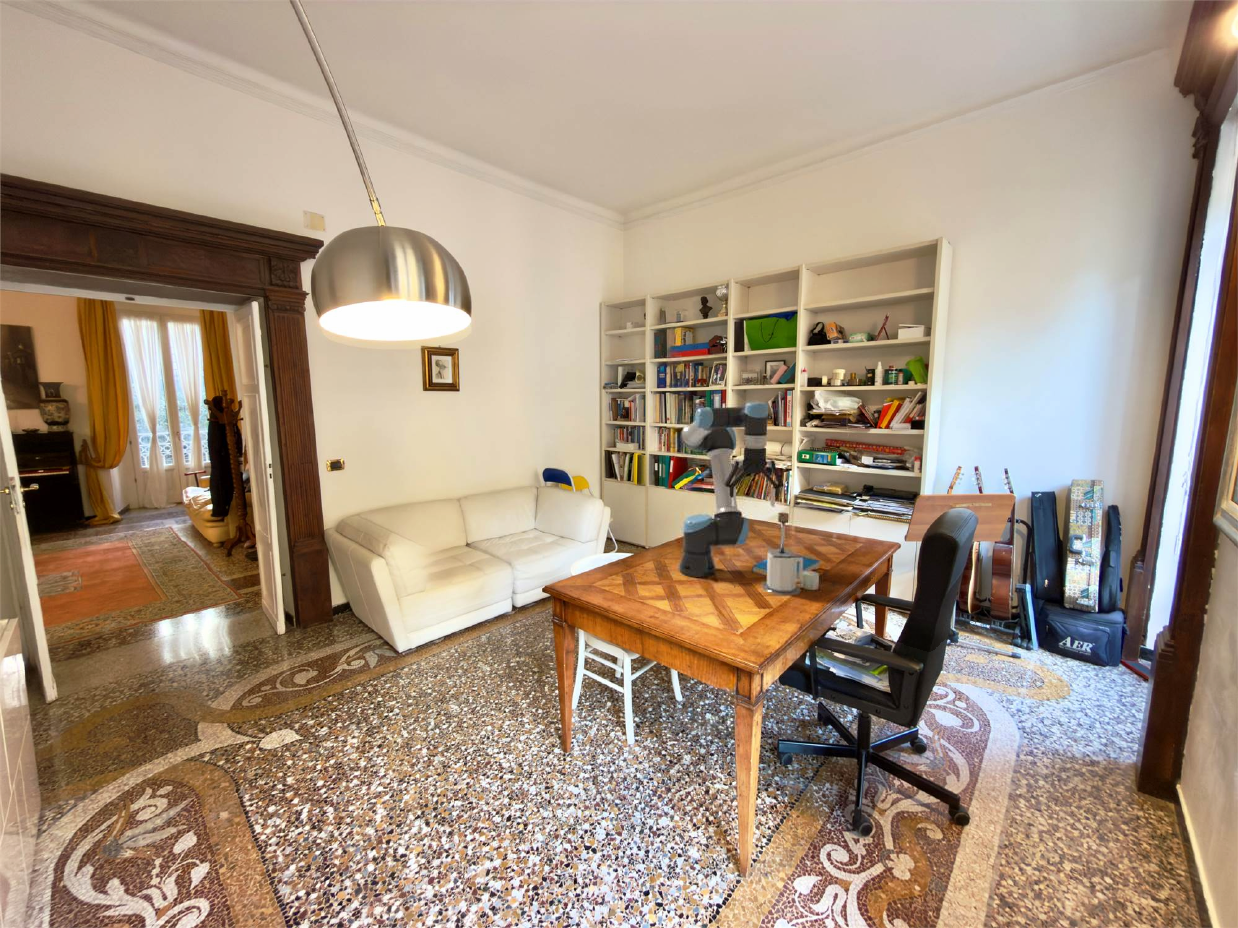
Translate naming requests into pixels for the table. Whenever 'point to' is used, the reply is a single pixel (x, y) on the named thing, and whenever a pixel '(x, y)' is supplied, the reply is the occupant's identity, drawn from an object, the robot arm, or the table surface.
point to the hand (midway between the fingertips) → (753, 506)
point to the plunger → (783, 527)
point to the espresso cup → (810, 580)
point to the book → (807, 565)
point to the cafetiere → (783, 570)
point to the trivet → (781, 593)
